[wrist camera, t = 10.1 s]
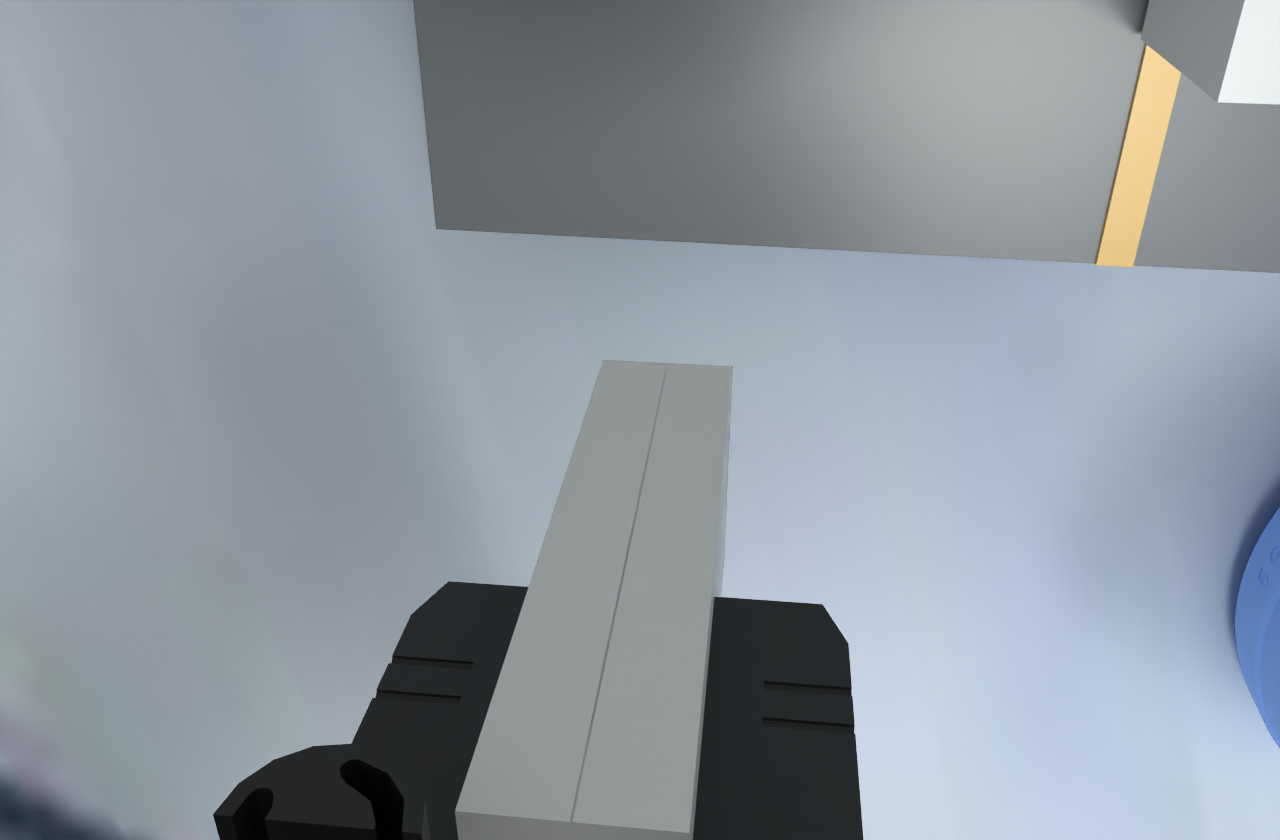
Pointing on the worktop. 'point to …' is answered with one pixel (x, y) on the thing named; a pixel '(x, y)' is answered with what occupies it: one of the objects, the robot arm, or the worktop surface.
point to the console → (844, 129)
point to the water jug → (1262, 625)
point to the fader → (1220, 45)
